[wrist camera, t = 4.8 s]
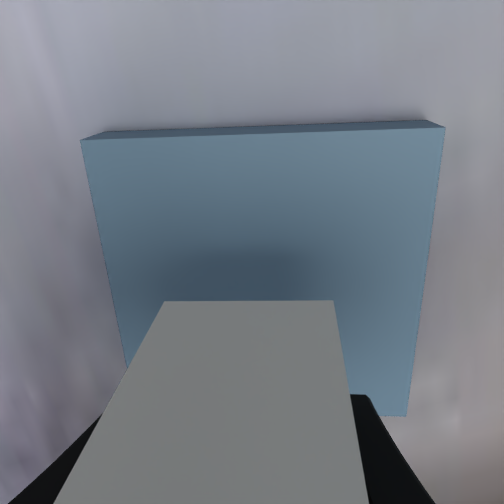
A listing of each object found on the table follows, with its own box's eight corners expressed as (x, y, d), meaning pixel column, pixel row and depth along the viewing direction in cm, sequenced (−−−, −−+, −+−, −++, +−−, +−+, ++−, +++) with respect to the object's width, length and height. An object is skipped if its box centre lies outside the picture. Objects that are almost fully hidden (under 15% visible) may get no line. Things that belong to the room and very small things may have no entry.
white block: (330, 430, 13) (359, 707, 7) (184, 425, 13) (107, 683, 8) (333, 300, 11) (374, 539, 5) (164, 301, 11) (44, 520, 6)
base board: (395, 384, 20) (406, 416, 18) (148, 378, 21) (135, 408, 19) (426, 119, 15) (445, 127, 13) (103, 131, 16) (79, 140, 14)
